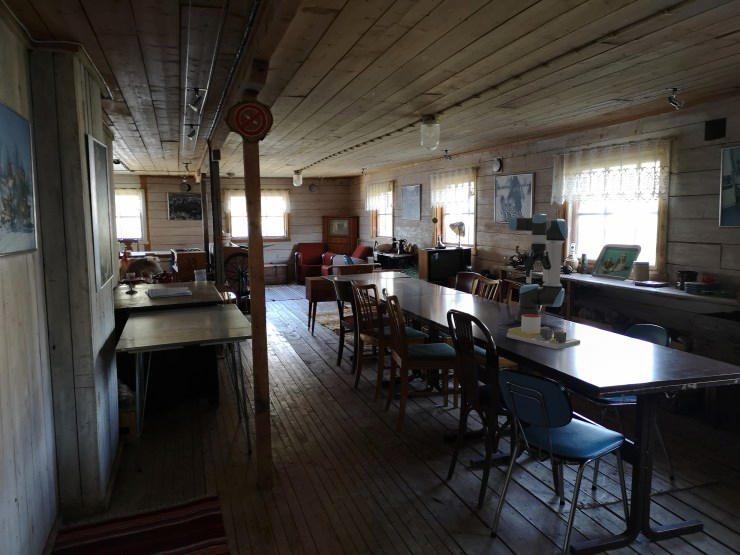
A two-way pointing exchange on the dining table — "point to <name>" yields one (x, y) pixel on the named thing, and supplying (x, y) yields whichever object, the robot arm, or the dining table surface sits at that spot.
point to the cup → (530, 323)
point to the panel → (540, 339)
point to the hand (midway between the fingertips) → (536, 282)
